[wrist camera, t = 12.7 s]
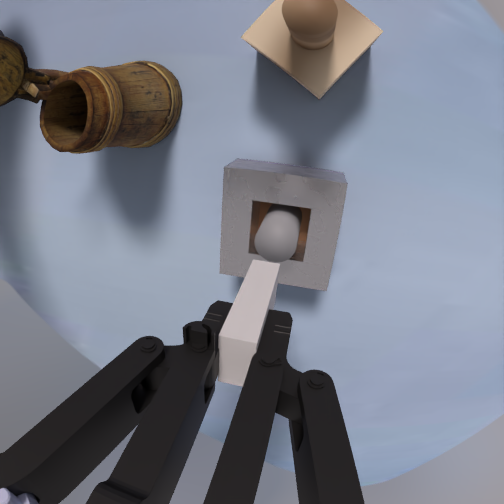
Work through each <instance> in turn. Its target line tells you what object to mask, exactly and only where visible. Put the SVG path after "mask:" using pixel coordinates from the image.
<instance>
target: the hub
mask: <svg viewBox="0 0 504 504" xmlns="http://www.w3.org/2000/svg"><path fill="white" fill-rule="evenodd" d="M310 211H311V209H310V208H303V207H296V206H290V205H283V204H276V203H268V202H260V213H259V224H258V232H257V234H256V236H255V247H256V250H257V252H258V253H259V254H260V256H262V257H263V258H264V259H266V260H268V261H271V262H283V261H286V260H288V259H289V258H291V257H292V256H293V254H294V253H295V251H296V247H297V242H298V240H299V241H305V242H306V238H307V231H308V225H309V218H310Z"/></svg>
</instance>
